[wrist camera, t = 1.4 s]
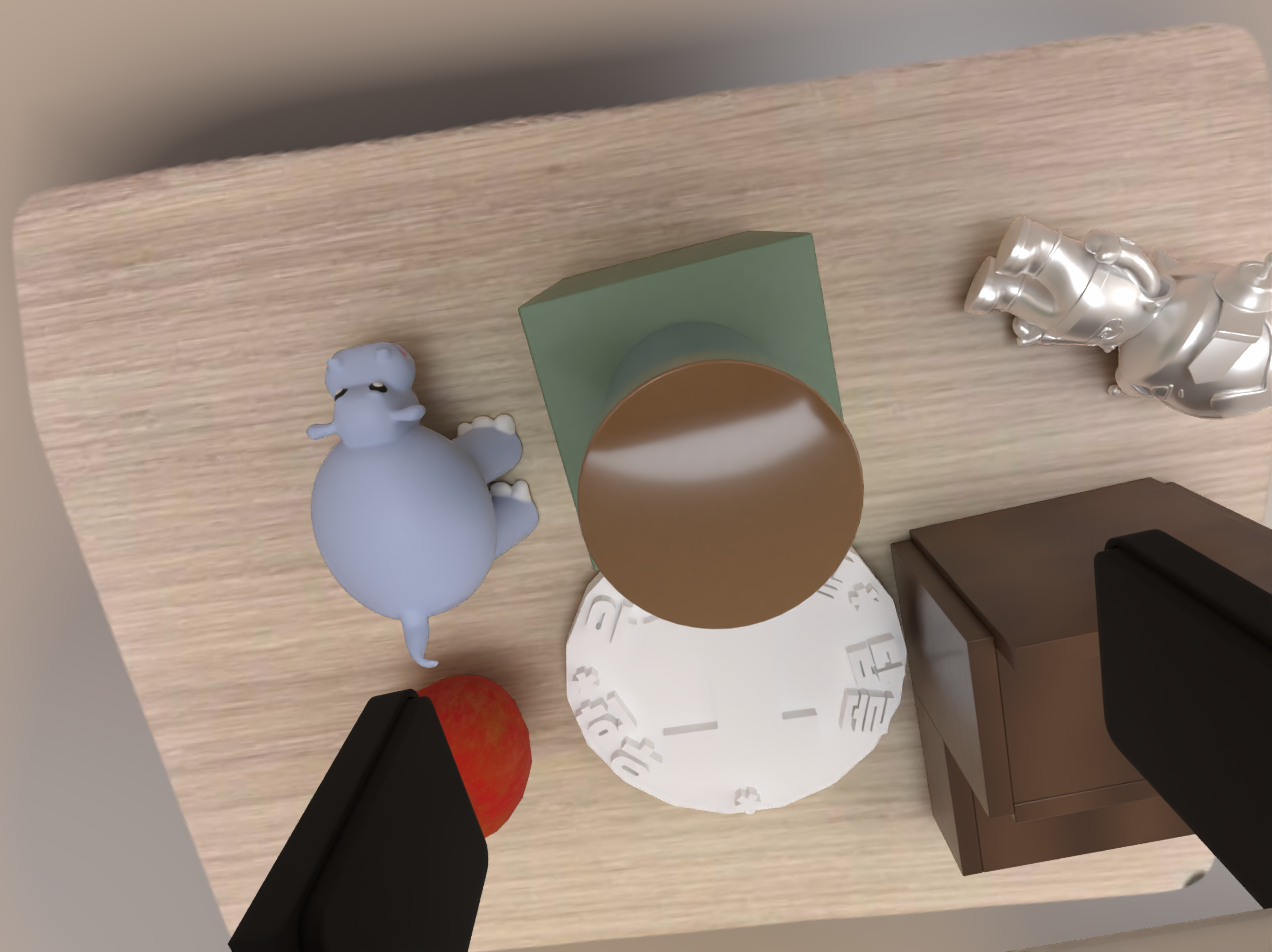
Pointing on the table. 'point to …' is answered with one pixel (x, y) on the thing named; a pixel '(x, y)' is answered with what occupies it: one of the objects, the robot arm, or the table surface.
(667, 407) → the jar
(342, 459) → the hippopotamus toy
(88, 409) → the table surface
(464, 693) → the apple
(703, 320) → the stand
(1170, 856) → the table surface
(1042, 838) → the wooden storage crate
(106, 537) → the table surface
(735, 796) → the white round plaque
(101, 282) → the table surface
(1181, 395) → the figurine
